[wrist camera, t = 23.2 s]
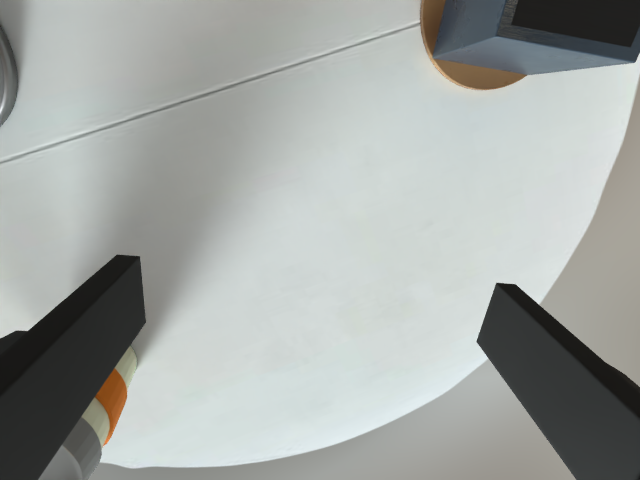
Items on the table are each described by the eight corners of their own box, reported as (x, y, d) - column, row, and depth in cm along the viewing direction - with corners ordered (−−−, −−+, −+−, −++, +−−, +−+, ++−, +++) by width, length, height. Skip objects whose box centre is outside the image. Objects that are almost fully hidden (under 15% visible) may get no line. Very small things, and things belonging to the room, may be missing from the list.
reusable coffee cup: (144, 402, 49) (81, 523, 35) (48, 384, 47) (-59, 504, 33) (157, 330, 45) (91, 435, 31) (52, 307, 43) (-69, 407, 29)
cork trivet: (394, -22, 32) (396, -25, 31) (541, -124, 30) (547, -130, 29) (455, 117, 36) (458, 117, 36) (585, 38, 34) (591, 36, 33)
